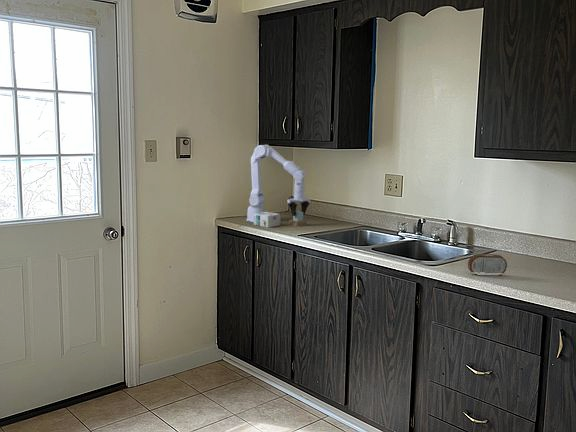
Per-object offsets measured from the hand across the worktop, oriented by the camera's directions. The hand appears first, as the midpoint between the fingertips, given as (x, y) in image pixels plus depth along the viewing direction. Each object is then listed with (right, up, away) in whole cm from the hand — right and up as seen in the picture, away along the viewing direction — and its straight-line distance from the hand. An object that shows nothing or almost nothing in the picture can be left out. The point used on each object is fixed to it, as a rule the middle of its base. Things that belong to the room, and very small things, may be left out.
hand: (298, 215), depth 338 cm
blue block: (0, -3, +1) cm, 3 cm away
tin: (+73, -24, -100) cm, 126 cm away
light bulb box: (-13, -3, -7) cm, 15 cm away
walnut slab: (0, -6, +1) cm, 6 cm away
